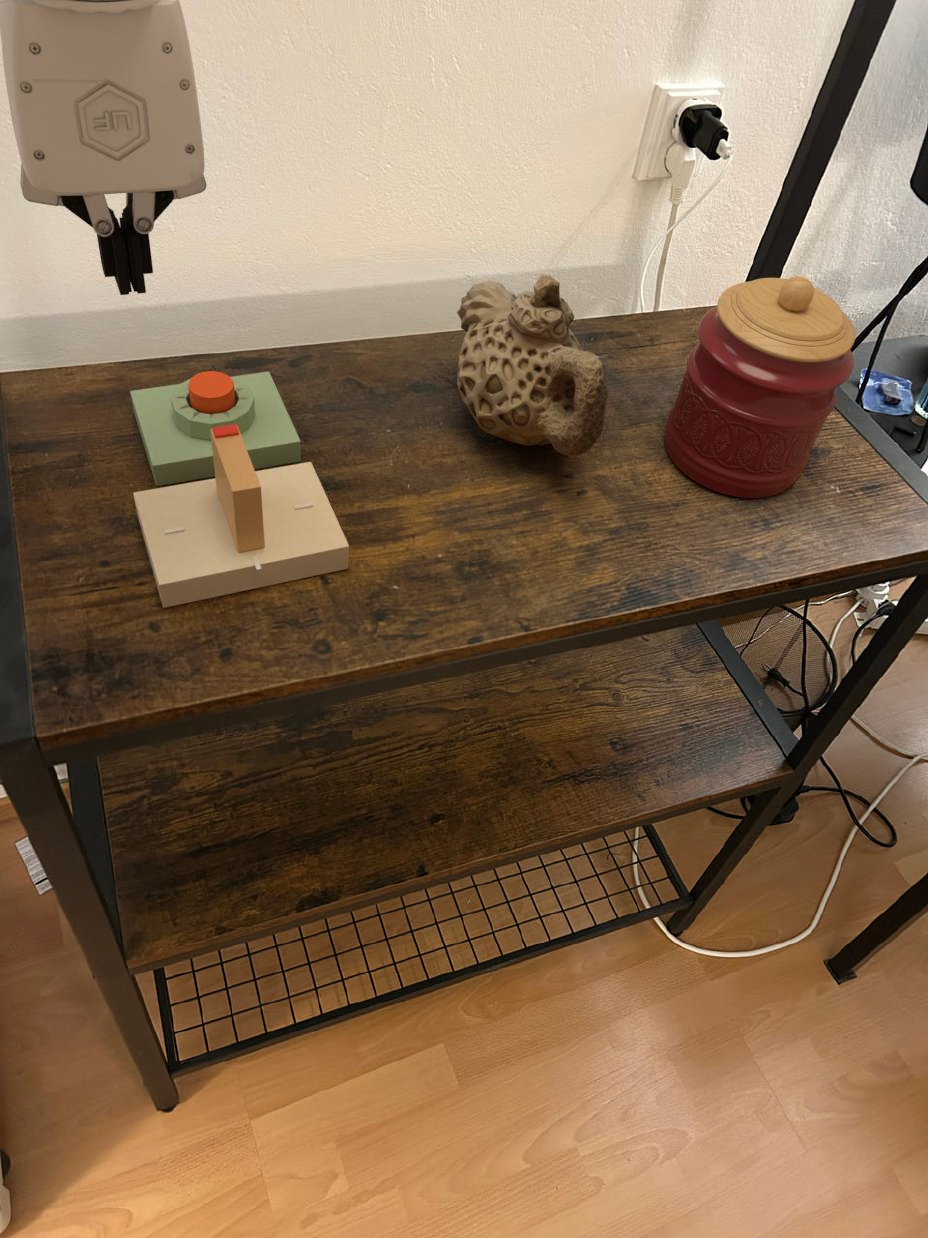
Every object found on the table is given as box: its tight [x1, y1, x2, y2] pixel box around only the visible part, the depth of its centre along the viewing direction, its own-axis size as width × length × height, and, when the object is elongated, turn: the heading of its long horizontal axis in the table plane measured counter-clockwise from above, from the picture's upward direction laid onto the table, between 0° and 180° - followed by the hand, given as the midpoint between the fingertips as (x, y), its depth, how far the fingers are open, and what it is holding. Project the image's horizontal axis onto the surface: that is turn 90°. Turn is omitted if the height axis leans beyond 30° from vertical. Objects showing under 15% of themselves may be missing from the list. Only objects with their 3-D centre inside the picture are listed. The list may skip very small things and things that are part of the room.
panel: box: [132, 461, 350, 609], centre depth 74 cm, size 14×11×3 cm
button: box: [188, 370, 235, 414], centre depth 79 cm, size 4×4×2 cm
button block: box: [129, 371, 302, 487], centre depth 81 cm, size 12×10×4 cm
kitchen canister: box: [664, 275, 856, 499], centre depth 83 cm, size 13×13×18 cm
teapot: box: [456, 274, 609, 456], centre depth 82 cm, size 21×12×15 cm, turn 27°
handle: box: [210, 424, 265, 552], centre depth 71 cm, size 7×2×6 cm, turn 22°
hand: (129, 282), depth 64 cm, fingers closed
